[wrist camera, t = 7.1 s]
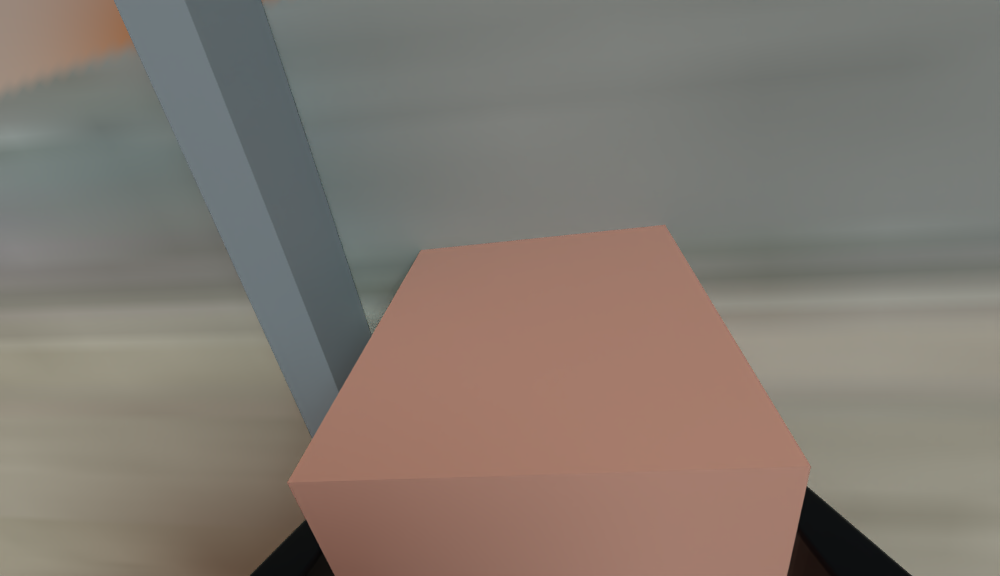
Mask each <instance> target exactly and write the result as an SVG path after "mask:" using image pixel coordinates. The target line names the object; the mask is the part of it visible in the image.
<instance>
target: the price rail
mask: <svg viewBox="0 0 1000 576" xmlns="http://www.w3.org/2000/svg"><path fill="white" fill-rule="evenodd" d="M114 2H115V4H116V6H117V8H118V11H119V13H120V15H121V17H122V19H123V22H124V24H125V26H126V28H127V30H128V33H129V35H130V37H131V39H132V41H133V44H134V46H135V48H136V50H137V53H138V55H139V57H140V59H141V61H142V64H143V66H144V68H145V70H146V72H147V75H148V77H149V79H150V81H151V83H152V86H153V88H154V90H155V92H156V94H157V97H158V99H159V101H160V103H161V106H162V108H163V110H164V112H165V114H166V117H167V119H168V121H169V123H170V125H171V128H172V130H173V132H174V134H175V136H176V139H177V141H178V143H179V145H180V148H181V150H182V152H183V154H184V156H185V159H186V161H187V163H188V165H189V167H190V170H191V172H192V174H193V176H194V178H195V181H196V183H197V185H198V187H199V190H200V192H201V194H202V196H203V198H204V201H205V203H206V205H207V207H208V209H209V212H210V214H211V216H212V218H213V220H214V223H215V225H216V227H217V229H218V232H219V234H220V236H221V238H222V240H223V243H224V245H225V247H226V249H227V251H228V254H229V256H230V258H231V260H232V262H233V265H234V267H235V269H236V271H237V274H238V276H239V278H240V280H241V282H242V285H243V287H244V289H245V291H246V293H247V296H248V298H249V300H250V302H251V304H252V307H253V309H254V311H255V313H256V315H257V318H258V320H259V322H260V324H261V327H262V329H263V331H264V333H265V335H266V338H267V340H268V342H269V344H270V346H271V349H272V351H273V353H274V355H275V357H276V360H277V362H278V364H279V366H280V369H281V371H282V373H283V375H284V377H285V380H286V382H287V384H288V386H289V388H290V391H291V393H292V395H293V397H294V399H295V402H296V404H297V406H298V408H299V411H300V413H301V415H302V417H303V419H304V422H305V424H306V426H307V428H308V430H309V433H310V435H311V437H312V438H313V437H314V435H315V433H316V432H317V430H318V428H319V426H320V425H321V423H322V421H323V419H324V418H325V416H326V414H327V412H328V411H329V409H330V407H331V405H332V404H333V402H334V400H335V399H336V397H337V395H338V393H339V392H340V390H341V388H342V386H343V385H344V383H345V381H346V379H347V378H348V376H349V374H350V372H351V371H352V369H353V367H354V366H355V364H356V362H357V360H358V359H359V357H360V355H361V353H362V352H363V350H364V348H365V346H366V345H367V343H368V341H369V339H370V338H371V333H370V330H369V327H368V324H367V321H366V318H365V315H364V312H363V309H362V306H361V302H360V299H359V296H358V293H357V290H356V287H355V284H354V281H353V278H352V275H351V272H350V269H349V266H348V263H347V260H346V257H345V254H344V251H343V248H342V245H341V242H340V239H339V236H338V233H337V230H336V227H335V224H334V221H333V218H332V215H331V211H330V208H329V205H328V202H327V199H326V196H325V193H324V190H323V187H322V184H321V181H320V178H319V175H318V172H317V169H316V166H315V163H314V160H313V157H312V154H311V151H310V148H309V145H308V142H307V139H306V136H305V133H304V130H303V127H302V124H301V121H300V117H299V114H298V111H297V108H296V105H295V102H294V99H293V96H292V93H291V90H290V87H289V84H288V81H287V78H286V75H285V72H284V69H283V66H282V63H281V60H280V57H279V54H278V51H277V48H276V45H275V42H274V39H273V36H272V33H271V30H270V27H269V23H268V20H267V17H266V14H265V11H264V8H263V5H262V2H261V0H114Z"/></svg>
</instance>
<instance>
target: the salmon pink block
mask: <svg viewBox="0 0 1000 576" xmlns="http://www.w3.org/2000/svg"><path fill="white" fill-rule="evenodd" d="M810 468H811V466H810V464H809V462H808V461H807V459H806V457H805V456H804V454H803V453H802V451H801V449H800V448H799V446H798V444H797V443H796V441H795V439H794V438H793V436H792V434H791V433H790V431H789V429H788V428H787V426H786V424H785V423H784V421H783V419H782V418H781V416H780V414H779V413H778V411H777V410H776V408H775V406H774V405H773V403H772V401H771V400H770V398H769V396H768V395H767V393H766V391H765V390H764V388H763V386H762V385H761V383H760V381H759V380H758V378H757V376H756V375H755V373H754V371H753V370H752V368H751V366H750V365H749V363H748V362H747V360H746V358H745V357H744V355H743V353H742V352H741V350H740V348H739V347H738V345H737V343H736V342H735V340H734V338H733V337H732V335H731V333H730V332H729V330H728V328H727V327H726V325H725V323H724V322H723V320H722V319H721V317H720V315H719V314H718V312H717V310H716V309H715V307H714V305H713V304H712V302H711V300H710V299H709V297H708V295H707V294H706V292H705V290H704V289H703V287H702V285H701V284H700V282H699V280H698V279H697V277H696V275H695V274H694V272H693V271H692V269H691V267H690V266H689V264H688V262H687V261H686V259H685V257H684V256H683V254H682V252H681V251H680V249H679V247H678V246H677V244H676V242H675V241H674V239H673V237H672V236H671V234H670V232H669V231H668V229H667V228H666V226H665V225H660V226H650V227H641V228H631V229H622V230H612V231H602V232H593V233H583V234H573V235H564V236H554V237H544V238H535V239H525V240H516V241H506V242H496V243H487V244H477V245H467V246H458V247H448V248H439V249H429V250H421V251H420V253H419V254H418V256H417V258H416V260H415V261H414V263H413V265H412V267H411V268H410V270H409V272H408V273H407V275H406V277H405V279H404V280H403V282H402V284H401V286H400V287H399V289H398V291H397V293H396V294H395V296H394V298H393V300H392V301H391V303H390V305H389V306H388V308H387V310H386V312H385V313H384V315H383V317H382V319H381V320H380V322H379V324H378V326H377V327H376V329H375V331H374V333H373V334H372V336H371V338H370V339H369V341H368V343H367V345H366V346H365V348H364V350H363V352H362V353H361V355H360V357H359V359H358V360H357V362H356V364H355V366H354V367H353V369H352V371H351V372H350V374H349V376H348V378H347V379H346V381H345V383H344V385H343V386H342V388H341V390H340V392H339V393H338V395H337V397H336V399H335V400H334V402H333V404H332V405H331V407H330V409H329V411H328V412H327V414H326V416H325V418H324V419H323V421H322V423H321V425H320V426H319V428H318V430H317V432H316V433H315V435H314V437H313V438H312V440H311V442H310V444H309V445H308V447H307V449H306V451H305V452H304V454H303V456H302V458H301V459H300V461H299V463H298V465H297V466H296V468H295V470H294V471H293V473H292V475H291V477H290V478H289V480H288V482H287V483H288V485H289V487H290V489H291V491H292V493H293V495H294V497H295V499H296V501H297V503H298V505H299V507H300V509H301V511H302V513H303V515H304V517H305V518H306V520H307V522H308V524H309V526H310V528H311V530H312V532H313V534H314V536H315V538H316V540H317V542H318V544H319V546H320V548H321V550H322V552H323V554H324V556H325V558H326V560H327V562H328V563H329V565H330V567H331V569H332V571H333V573H334V575H335V576H787V573H788V569H789V564H790V560H791V555H792V550H793V546H794V541H795V537H796V532H797V528H798V523H799V518H800V514H801V509H802V505H803V500H804V496H805V491H806V487H807V482H808V477H809V473H810Z"/></svg>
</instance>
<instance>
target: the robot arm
mask: <svg viewBox="0 0 1000 576" xmlns="http://www.w3.org/2000/svg"><path fill="white" fill-rule="evenodd" d="M250 576H335V575H334V573H333V571H332V569H331V567H330V565H329V563H328V562H327V560H326V558H325V556H324V554H323V552H322V550H321V548H320V546H319V544H318V542H317V540H316V538H315V536H314V534H313V532H312V530H311V528H310V526H309V524H308V522H307V520H305V521H304V522H303V523H302V524H301V525H300V526H299V527H298V528H297V529H296V530H295V531H294V532H293V533H292V534H291V535H290V536H289V537H288V538H287V539H286V540H285V541H284V542H283V543H282V544H281V545H280V546H279V547H278V548H277V549H276V550H275V551H274V552H273V553H272V554H271V555H270V556H269V557H268V558H267V559H266V560H265V561H264V562H263V563H262V564H261V565H260V566H259V567H258V568H257V569H256V570H255V571H254V572H253V573H252V574H251V575H250ZM787 576H912V575H910V574H909V573H908V572H907V571H906V570H905V569H903V568H902V567H901V566H900V565H899V564H898V563H896V562H895V561H894V560H893V559H892V558H890V557H889V556H888V555H887V554H886V553H885V552H883V551H882V550H881V549H880V548H879V547H878V546H876V545H875V544H874V543H873V542H872V541H871V540H869V539H868V538H867V537H866V536H865V535H864V534H862V533H861V532H860V531H859V530H858V529H856V528H855V527H854V526H853V525H852V524H851V523H849V522H848V521H847V520H846V519H845V518H844V517H842V516H841V515H840V514H839V513H838V512H837V511H835V510H834V509H833V508H832V507H831V506H830V505H828V504H827V503H826V502H825V501H824V500H822V499H821V498H820V497H819V496H818V495H817V494H815V493H814V492H813V491H812V490H811V489H810V488H808V487H806V491H805V496H804V500H803V505H802V509H801V514H800V518H799V523H798V528H797V532H796V537H795V541H794V546H793V550H792V555H791V560H790V564H789V569H788V573H787Z"/></svg>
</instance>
